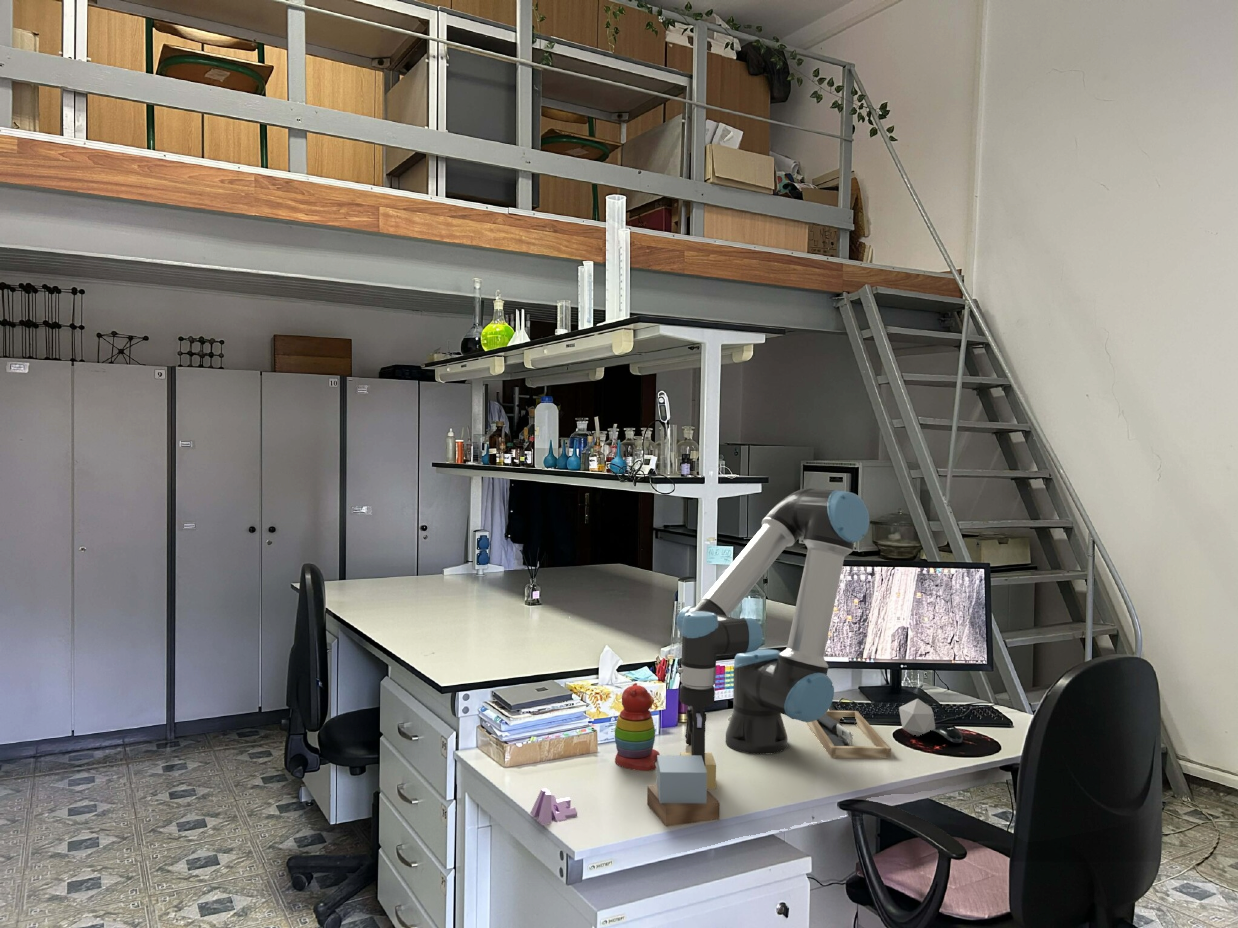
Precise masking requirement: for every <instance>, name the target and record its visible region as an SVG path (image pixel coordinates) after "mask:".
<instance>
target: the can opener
mask: <svg viewBox="0 0 1238 928" xmlns="http://www.w3.org/2000/svg"><path fill="white" fill-rule="evenodd" d="M817 721H818V724H819V725H820V726H821V728H822V729H823V731H824V732H825V733H826V735H827V736H828V738H829V739H830V740H831V742H832V743H833V744H834V746H853V740H854V739H853V736H854V734H853V733H851V731H850V730H848V729H847V728H845V727H844V726H843V725H842V723H839V722H837V721H836V720H834V719H832V718H831V717H829V716H828V715H826V714H824V715H822V716H821V717H820V718H819V719H818V720H817Z"/></svg>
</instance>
